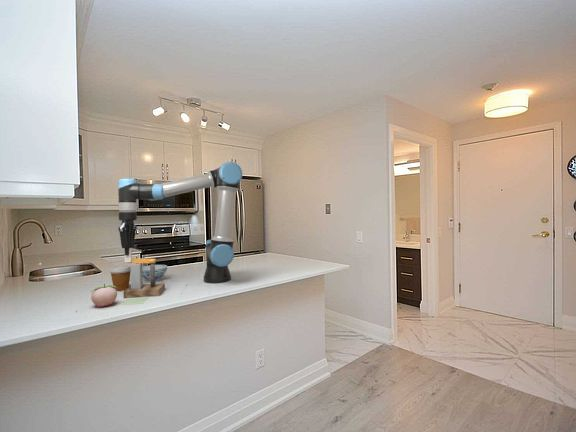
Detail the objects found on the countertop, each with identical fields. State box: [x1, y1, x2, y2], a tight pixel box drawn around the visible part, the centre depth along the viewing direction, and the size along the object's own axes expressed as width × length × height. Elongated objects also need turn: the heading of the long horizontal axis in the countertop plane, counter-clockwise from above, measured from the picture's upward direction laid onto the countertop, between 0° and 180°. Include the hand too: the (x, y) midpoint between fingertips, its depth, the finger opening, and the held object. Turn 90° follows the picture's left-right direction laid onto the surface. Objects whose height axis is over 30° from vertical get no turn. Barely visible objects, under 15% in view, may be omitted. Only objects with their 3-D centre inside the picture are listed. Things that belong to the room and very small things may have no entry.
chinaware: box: [142, 264, 168, 283], centre depth 174 cm, size 15×15×8 cm
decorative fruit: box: [90, 283, 118, 308], centre depth 125 cm, size 9×8×10 cm
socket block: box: [122, 263, 166, 299], centre depth 143 cm, size 15×12×15 cm
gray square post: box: [129, 263, 144, 289], centre depth 142 cm, size 4×4×14 cm
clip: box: [123, 257, 157, 264], centre depth 144 cm, size 15×3×2 cm, turn 80°
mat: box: [120, 297, 149, 306], centre depth 131 cm, size 9×9×1 cm
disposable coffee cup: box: [109, 265, 131, 292], centre depth 151 cm, size 10×10×12 cm
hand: (128, 261), depth 143 cm, fingers closed
